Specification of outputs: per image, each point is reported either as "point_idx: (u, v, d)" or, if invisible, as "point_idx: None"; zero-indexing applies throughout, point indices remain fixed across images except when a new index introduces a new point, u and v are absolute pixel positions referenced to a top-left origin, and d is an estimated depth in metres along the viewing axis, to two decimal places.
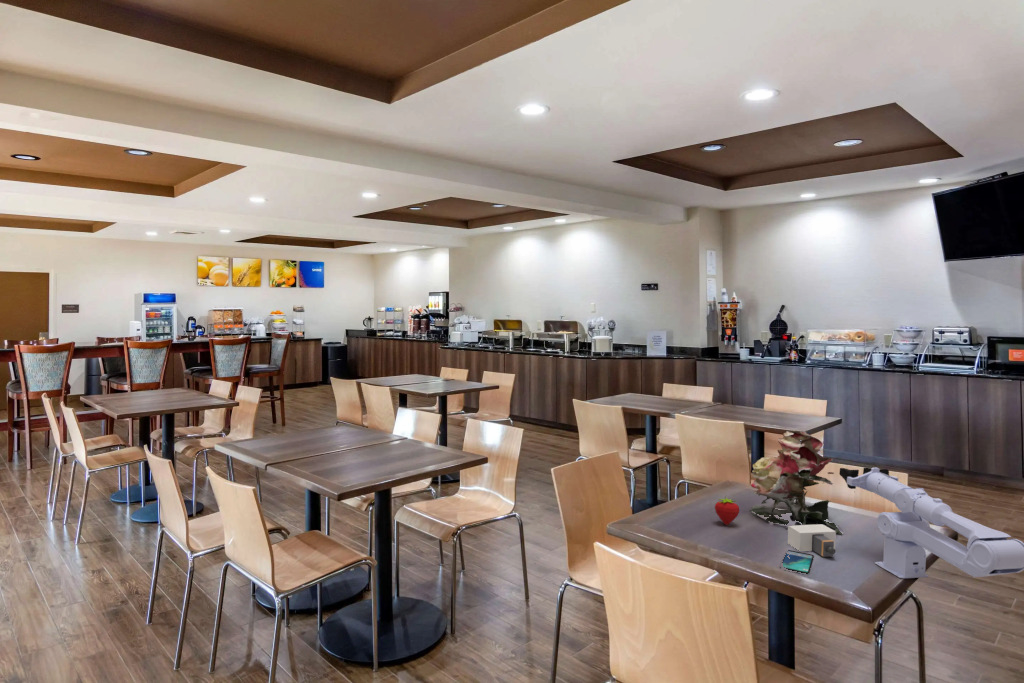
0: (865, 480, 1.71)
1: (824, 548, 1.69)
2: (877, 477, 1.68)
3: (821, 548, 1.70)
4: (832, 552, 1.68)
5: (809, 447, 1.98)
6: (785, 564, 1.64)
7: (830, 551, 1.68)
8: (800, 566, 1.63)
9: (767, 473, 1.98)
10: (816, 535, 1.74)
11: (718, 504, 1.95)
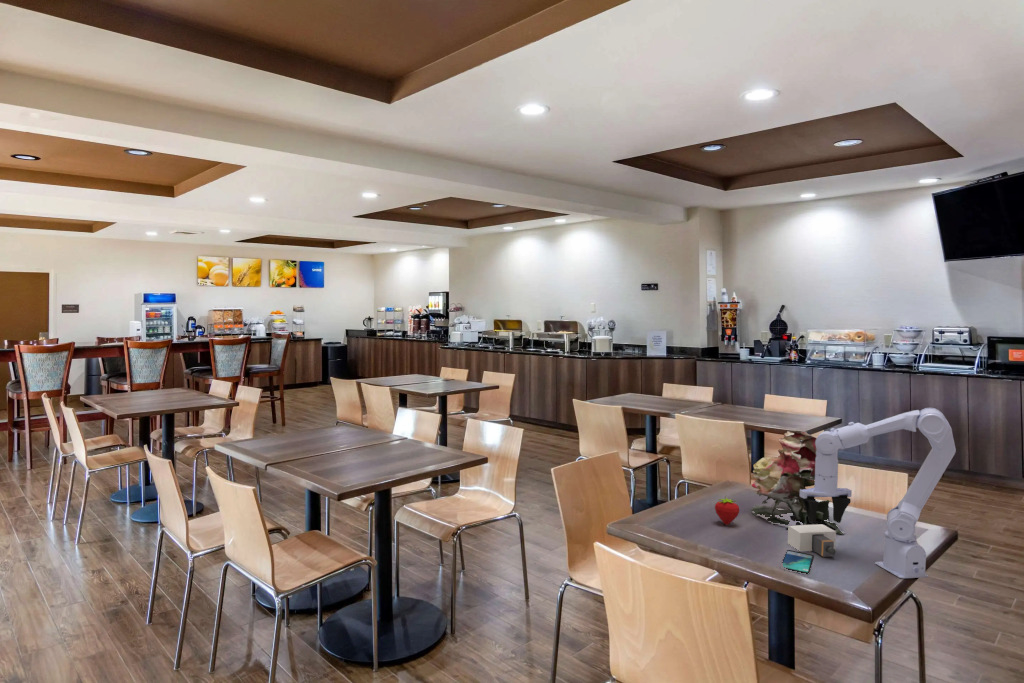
0: (814, 489, 1.71)
1: (824, 548, 1.69)
2: None
3: (821, 548, 1.70)
4: (832, 552, 1.68)
5: (810, 447, 1.98)
6: (785, 564, 1.64)
7: (830, 551, 1.68)
8: (800, 566, 1.63)
9: (768, 473, 1.98)
10: (816, 535, 1.74)
11: (718, 504, 1.95)
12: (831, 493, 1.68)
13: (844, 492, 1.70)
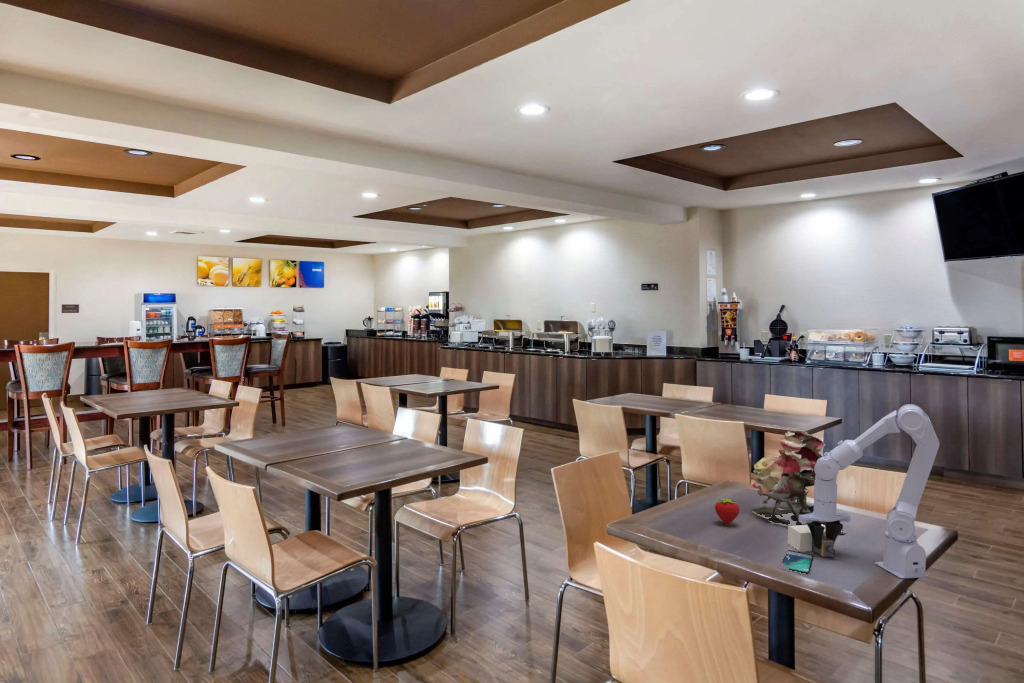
0: (814, 515, 1.71)
1: (824, 548, 1.69)
2: None
3: (821, 548, 1.70)
4: (832, 552, 1.68)
5: (811, 447, 1.98)
6: (785, 564, 1.64)
7: (830, 551, 1.68)
8: (800, 566, 1.63)
9: (768, 473, 1.98)
10: None
11: (718, 504, 1.95)
12: (830, 519, 1.68)
13: (843, 517, 1.70)
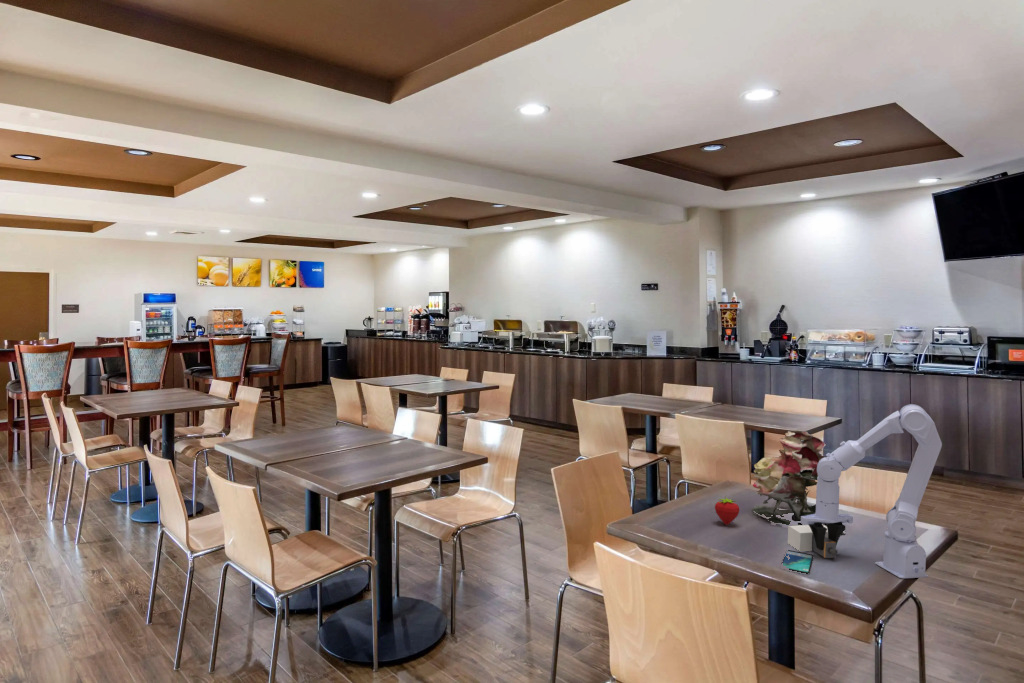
0: (816, 516, 1.70)
1: (826, 549, 1.69)
2: None
3: (823, 549, 1.69)
4: (834, 553, 1.67)
5: (811, 447, 1.98)
6: (785, 564, 1.64)
7: (832, 552, 1.67)
8: (800, 566, 1.63)
9: (769, 473, 1.98)
10: None
11: (718, 504, 1.95)
12: (832, 520, 1.67)
13: (845, 518, 1.69)
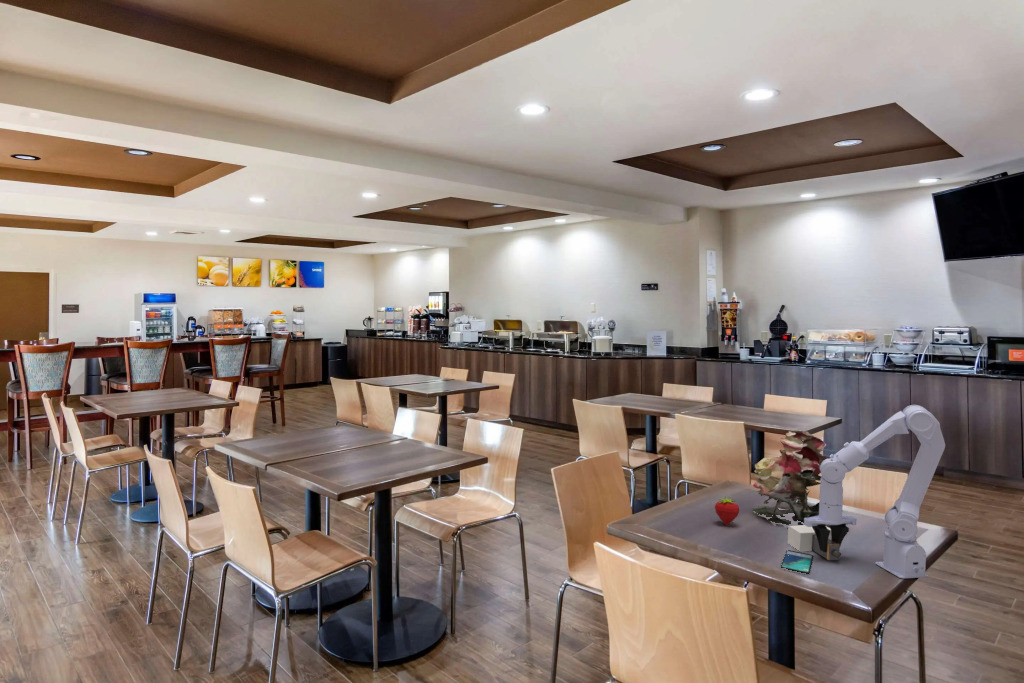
0: (819, 518, 1.69)
1: (830, 551, 1.67)
2: None
3: (827, 551, 1.68)
4: (838, 556, 1.66)
5: (812, 447, 1.98)
6: (785, 564, 1.64)
7: (836, 555, 1.66)
8: (800, 566, 1.63)
9: (769, 473, 1.98)
10: None
11: (718, 504, 1.95)
12: (836, 522, 1.66)
13: (849, 520, 1.68)
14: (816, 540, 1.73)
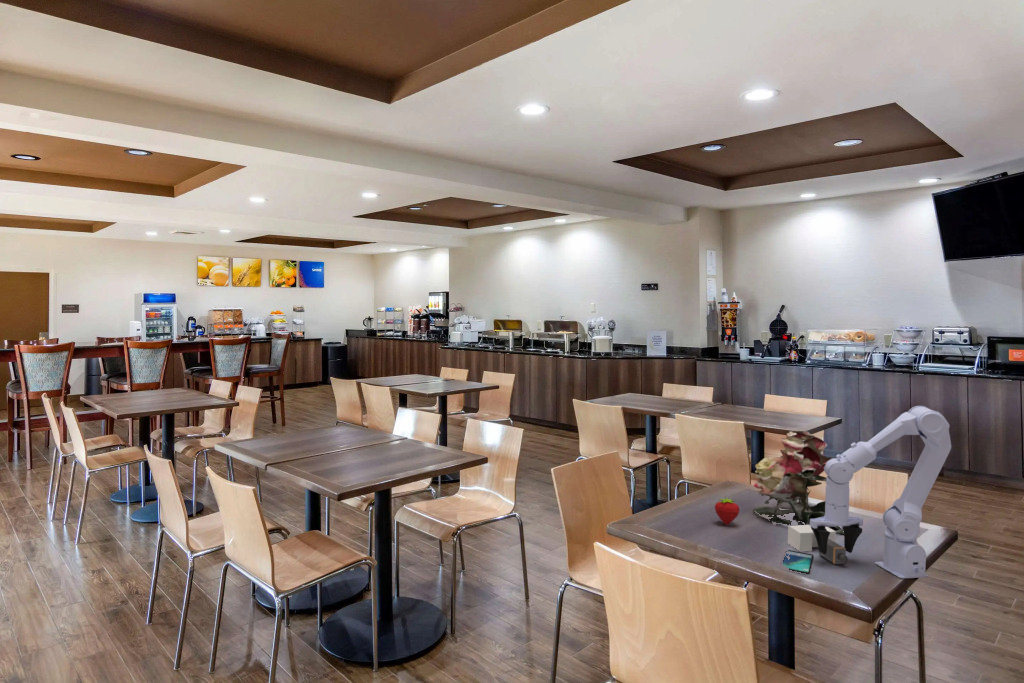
0: (825, 519, 1.66)
1: (836, 555, 1.65)
2: None
3: (833, 555, 1.65)
4: (844, 559, 1.63)
5: (812, 447, 1.98)
6: (785, 564, 1.64)
7: (842, 558, 1.63)
8: (800, 566, 1.63)
9: (770, 473, 1.98)
10: (827, 542, 1.69)
11: (718, 504, 1.95)
12: (842, 523, 1.63)
13: (855, 521, 1.65)
14: None
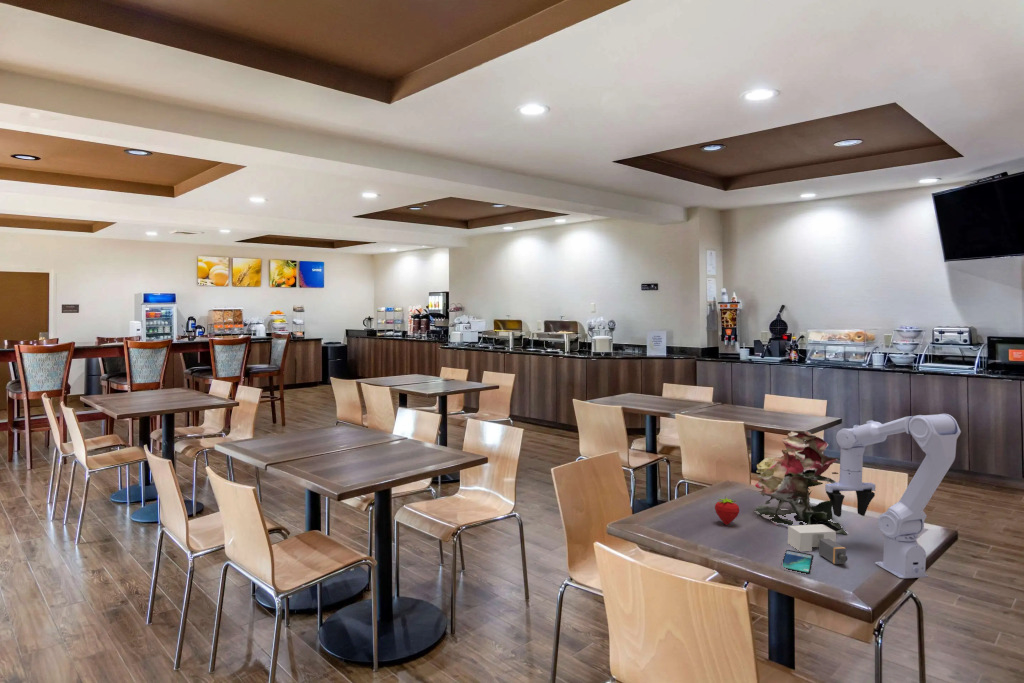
0: (840, 484, 1.77)
1: (836, 555, 1.65)
2: None
3: (833, 555, 1.65)
4: (844, 559, 1.63)
5: (814, 447, 1.98)
6: (785, 564, 1.64)
7: (842, 558, 1.63)
8: (801, 566, 1.63)
9: (771, 473, 1.98)
10: (827, 542, 1.69)
11: (718, 504, 1.95)
12: (856, 487, 1.74)
13: (868, 486, 1.76)
14: (822, 543, 1.70)
